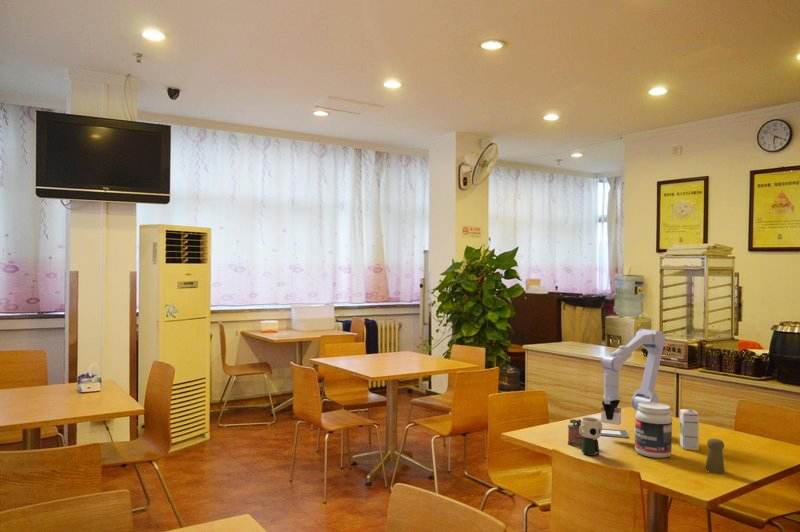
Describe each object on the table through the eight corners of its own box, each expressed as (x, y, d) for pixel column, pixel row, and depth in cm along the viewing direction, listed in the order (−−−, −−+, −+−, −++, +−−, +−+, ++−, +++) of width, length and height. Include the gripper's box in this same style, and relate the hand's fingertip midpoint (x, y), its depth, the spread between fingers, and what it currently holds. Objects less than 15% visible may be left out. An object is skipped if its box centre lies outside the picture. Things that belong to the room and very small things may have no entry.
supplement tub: (628, 452, 226) (629, 404, 226) (645, 446, 234) (646, 400, 234) (661, 461, 216) (662, 411, 216) (677, 455, 224) (678, 406, 224)
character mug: (586, 458, 218) (586, 423, 218) (572, 453, 224) (573, 418, 224) (608, 455, 222) (609, 420, 222) (594, 449, 229) (594, 415, 229)
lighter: (587, 444, 236) (588, 418, 236) (589, 446, 233) (590, 421, 233) (566, 443, 237) (567, 417, 237) (568, 445, 234) (568, 420, 234)
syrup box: (699, 450, 231) (699, 413, 231) (682, 449, 232) (683, 412, 232) (694, 446, 236) (695, 409, 236) (678, 445, 237) (679, 408, 237)
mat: (625, 431, 256) (625, 430, 256) (628, 438, 246) (628, 437, 246) (588, 428, 260) (588, 427, 260) (590, 434, 249) (590, 433, 249)
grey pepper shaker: (701, 468, 210) (702, 436, 210) (717, 468, 210) (718, 436, 210) (712, 474, 204) (712, 441, 204) (728, 474, 204) (729, 441, 204)
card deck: (603, 420, 247) (603, 406, 247) (620, 423, 244) (621, 408, 244) (601, 422, 244) (601, 407, 244) (619, 425, 241) (619, 410, 241)
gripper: (617, 389, 236) (617, 423, 236) (625, 383, 248) (624, 416, 248) (599, 387, 240) (598, 421, 240) (607, 381, 252) (606, 413, 252)
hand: (610, 418), depth 244 cm, fingers closed on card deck, 3 cm apart
